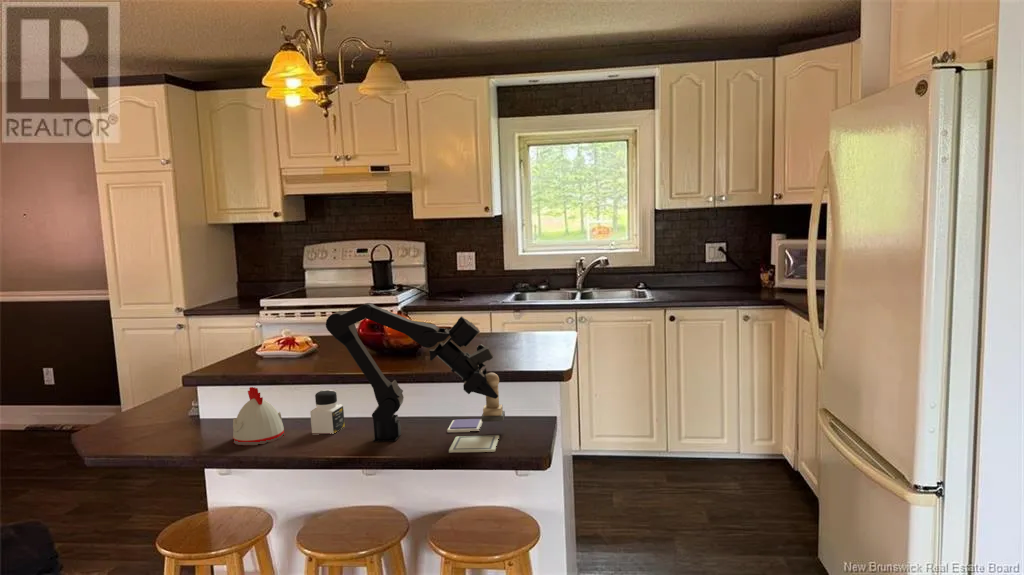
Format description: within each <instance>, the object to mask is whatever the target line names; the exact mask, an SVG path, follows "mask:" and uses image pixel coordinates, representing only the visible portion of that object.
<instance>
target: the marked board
mask: <svg viewBox="0 0 1024 575" xmlns="http://www.w3.org/2000/svg"><path fill="white" fill-rule="evenodd" d="M498 439H499V440H500V435H466V436H464V435H463V436H461V435H460V436H455V438H454V440H453V442H452V443H451V445H450V447H449V449H448V453H449V454H450V453H485V452H487V453H491V452H492V453H495V452H496V449H497V447H498V443H499V440H498ZM496 446H497V447H496Z"/></svg>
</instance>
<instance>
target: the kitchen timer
mask: <svg viewBox="0 0 1024 575" xmlns="http://www.w3.org/2000/svg"><path fill="white" fill-rule="evenodd" d="M247 394H248V397H249V400H248V401H247V402H246V403H245V404H244V405H243V406H242V407H241V408H240V410H239V411H238V414H237V416H236V418H235V417H234V418H233V421H232V431H233V433H232V440H233V439H234V440H235V441H238V442H260V441H266V440H271V439H274V438H277V437H279V436H281V435H282V434H283V433H284V434H285V428H284V424H283V419H282V414H281V412H280V411H277V409H276V408H275V407H274V405H273V404H272V403H270V402H269V401H267V400H266V399H264V397H263V396H262V397H261V392H259V389H258V387H253V386H249V390H247Z"/></svg>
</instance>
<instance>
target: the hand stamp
mask: <svg viewBox="0 0 1024 575" xmlns="http://www.w3.org/2000/svg"><path fill="white" fill-rule="evenodd" d="M486 381H487V382H488V384H489V385H490V386H491V387H492V388H493V390H494V391H495V392H496V393H497V395H498V397H497V398H496V399H495V398H492V397H488V396H485V403H486V404H485V405H483V408H482V414H481V417H480V420H481V419H482V422H483V423H485V422H486V423H487V422H504V419H505V417H506V413H505V412H506V411H505V410H503V408H504V407H503V404H500V397H499V396H500V395H499V384H500V377H499V375H498V374H496V373H495V372H487V374H486Z"/></svg>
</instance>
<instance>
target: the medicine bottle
mask: <svg viewBox="0 0 1024 575" xmlns="http://www.w3.org/2000/svg"><path fill="white" fill-rule="evenodd" d="M337 395H338V394H337V392H336V390H333V389H324V390H321V391H317V392H316V393H315V395H314V398H315V399H314V400H315V406H316V407H315V408H313V409H311V410H310V411H309V412H310V413H309V414H310V424H311V425H310V426H311V433H330V434H331V433H332V434H334V433H336V432H337V431H339V430H340V429H341V430H343V429H344V428H345V412H344V405H343V404H340V403H339V404H338V398H337V397H338V396H337ZM343 427H344V428H343ZM342 428H343V429H342ZM341 430H340V431H341ZM340 431H339V432H340ZM337 433H338V432H337ZM337 433H336V434H337ZM334 435H335V434H334Z"/></svg>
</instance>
